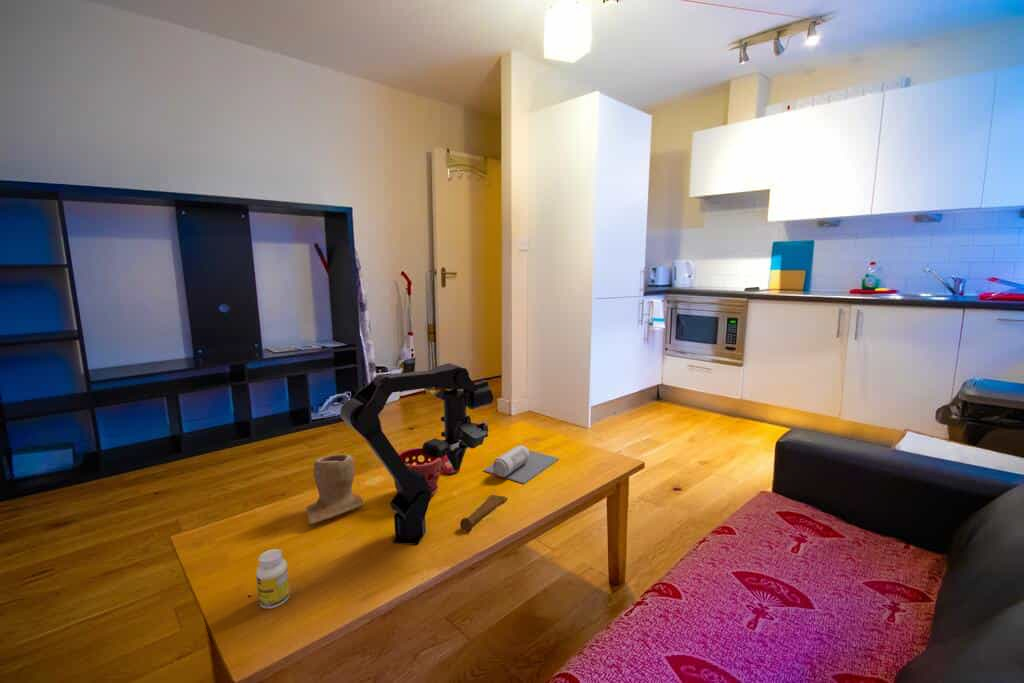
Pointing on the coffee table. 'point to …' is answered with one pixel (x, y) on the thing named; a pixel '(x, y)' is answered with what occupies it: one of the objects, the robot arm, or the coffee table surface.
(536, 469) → the mat
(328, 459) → the stone cup
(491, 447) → the coffee table surface
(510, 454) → the energy drink can
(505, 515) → the coffee table surface
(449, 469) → the race car
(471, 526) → the primitive tool
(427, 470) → the plant pot
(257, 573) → the supplement bottle
